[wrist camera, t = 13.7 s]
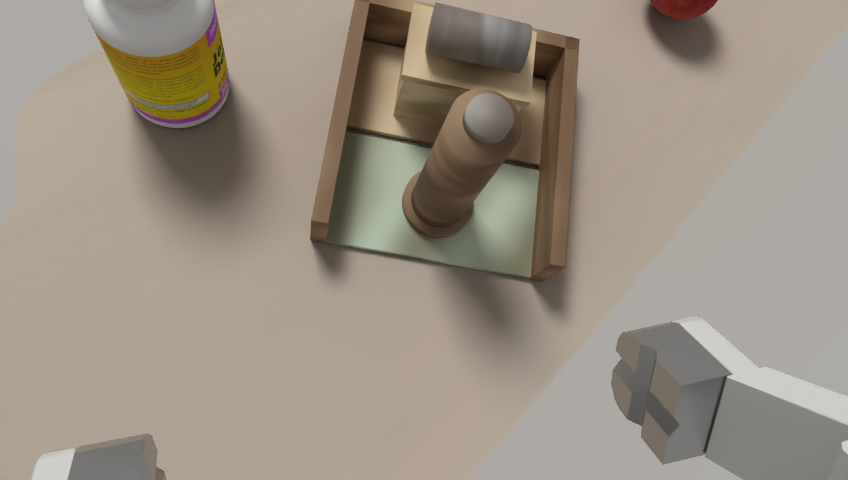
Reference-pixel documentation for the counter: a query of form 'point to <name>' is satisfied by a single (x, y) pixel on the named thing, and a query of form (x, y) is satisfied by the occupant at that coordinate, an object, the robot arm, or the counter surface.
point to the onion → (683, 7)
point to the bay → (398, 162)
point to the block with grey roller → (462, 60)
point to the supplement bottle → (164, 56)
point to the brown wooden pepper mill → (461, 162)
